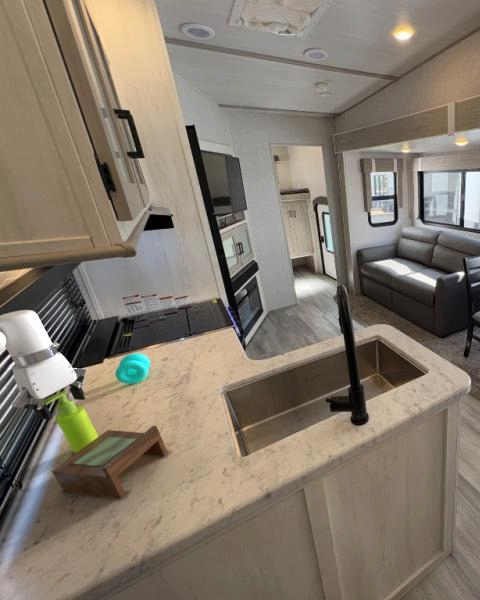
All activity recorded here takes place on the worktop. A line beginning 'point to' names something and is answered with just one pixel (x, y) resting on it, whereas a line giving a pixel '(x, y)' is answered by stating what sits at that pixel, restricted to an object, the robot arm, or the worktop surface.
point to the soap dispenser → (73, 422)
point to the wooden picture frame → (107, 462)
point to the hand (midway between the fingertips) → (64, 408)
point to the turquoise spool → (132, 368)
